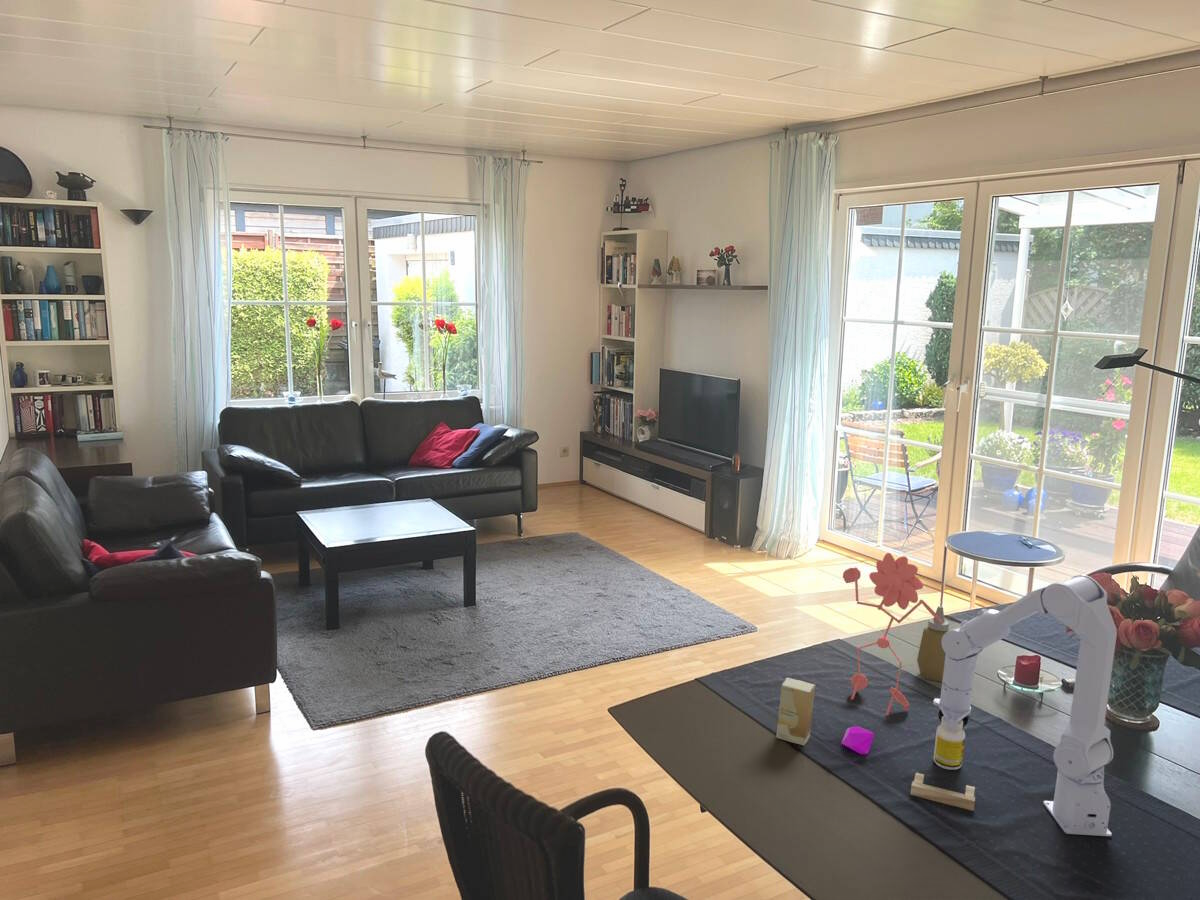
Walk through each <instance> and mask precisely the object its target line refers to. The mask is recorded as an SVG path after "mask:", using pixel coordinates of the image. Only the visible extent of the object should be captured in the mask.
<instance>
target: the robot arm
mask: <svg viewBox="0 0 1200 900" xmlns="http://www.w3.org/2000/svg"><path fill="white" fill-rule="evenodd" d="M1037 613H1040V614H1042V615H1047V614H1049V615H1051V616H1052V617H1053V618H1055V619H1056V620H1057V621H1059V622H1060V623H1062V624H1063V625H1065V626H1066V627H1068V628H1069V630H1070V629H1071V630H1072V631H1074V633H1075V634H1076V635H1077V636H1078V637H1079V638H1080V639H1079V648H1078V656H1077V662H1076V663H1077V664H1076V672H1075V679H1074V687H1073V693H1072V703H1071V710H1070V719H1069V722H1068V723H1067V725H1066V726H1065V728H1064V730H1063V732H1062V733H1061V737H1060V741H1059V743H1058V745H1057V746H1056V747H1055V748H1054V750H1053V753H1052V754H1053V755H1052V756H1053V762H1054V764H1055V766H1056V768H1057V776H1056V782H1055V789H1054V796H1053V800H1043V805H1044V806H1045V808H1046V809H1047V810H1048V812H1049V813H1050V814H1051V816H1052V817H1053V819H1054V820H1055V821H1056V823H1057V824H1058V825H1059V827H1060V828H1061V829H1062V831H1063V832H1064V833H1065V834H1066V835H1067V834H1068V835H1082V836H1096V837H1097V836H1099V837H1112V836H1113V835H1112V832H1111V831H1110V830H1109V828H1108V826H1109V820H1110V812H1111V805H1112V804H1111V803H1112V802H1111V800H1110V798H1109V796H1108V794H1107V793H1106V789H1105V787H1104V783H1105V781H1104V779H1105V766H1107V765H1108V764H1109V763H1111V761H1112V760H1113V758H1114V748H1113V746H1112V743H1111V730H1110V729H1109V728H1108V727H1107V726H1106V725H1105V722H1106V714H1107V708H1108V702H1109V695H1110V694H1109V693H1110V687H1111V679H1112V673H1113V672H1112V671H1113V664H1114V658H1115V650H1116V644H1117V642H1116V641H1117V636H1118V633H1117V630H1118V629H1117V626H1116V624H1115V622H1114V619H1113V615H1112V613H1111V611H1110V608H1109V605H1108V592H1107V591H1106V590H1105V589H1104V588H1103V587H1102V586H1101V584H1100V583H1099V582H1097V580H1096V579H1094V578H1093V577H1091V576H1089V575H1087V574H1078V575H1074V576H1072V577H1071V578H1068V579H1064V580H1062V581H1058V582H1054V583H1051V584H1048V585H1046V586H1044V587H1041V588H1037V589H1034V590H1032V591H1030V592H1029V593H1027V594H1026V595H1024V596H1022V597H1021V598H1019V599H1017V600H1016V601H1014V602H1013V603H1012V604H1010V605H1008V606H1007V607H1005V608H1003V609H1001V610H998V609H995V608H989V609H987V608H982V609H980V610H979V611H978V612H977V616H976V617H973V618H971V619H970V620H966V619H965V620H963V621H961V622H960V627H957V628H954V629H953V628H952V629H948V631H947V632H946V633H945V634H944V635H943V637H942V641H941V643H942V648H943V650H944V652H945V653H946V656H945V664H944V672H943V681H941V682H942V683H941V689H940V698H933V703H932V704H933V706H937V707H938V708H939V709H938V719H939V722H940V723H941V720H942V716H945V718H946V726H945V728H948V729H952V730H956V729H957V723H958V722H959V721H960V720H961V719H962V720H963V728H962V729H963V730H964V728H965V726H967V724H968V722H969V717H970V713H971V711H972V706H971V705H972V698H973V697H972V696H973V689H974V688H973V687H974V679H975V674H976V673H975V672H976V668H977V667H976V666H977V661H978V656H979V655H980V653H981V652H983V651H984V649H985V648H988V647H989V646H991V645H993V644H994V643H997V642H999V641H1001V640H1003V639H1004V638H1006V637H1008V636H1009V634H1010V632H1011V627H1012V625H1016V624H1017V623H1019V622H1022V621H1023V620H1025V619H1027V618H1029V617H1032V616H1033V615H1035V614H1037Z"/></svg>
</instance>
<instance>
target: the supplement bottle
mask: <svg viewBox="0 0 1200 900" xmlns="http://www.w3.org/2000/svg"><path fill="white" fill-rule="evenodd" d="M940 723H941V724H939V725H937V727H936V732H935V742H934V749H933V762H934V763H935V764H936V765H937V766H938V767H939V768H942V769H945V770H950V771H953V770H958V769H960V768H961V767H962V765H963V759H964V750H965V744H966V732H965V730H964V728H963V720H962V719H961V720H960V721H959V722H958V723H957V729H956V730H952V729H948V728H945V726H946V718H945V716H942V720H941V722H940ZM962 728H963V729H962Z"/></svg>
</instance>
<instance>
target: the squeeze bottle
mask: <svg viewBox="0 0 1200 900" xmlns="http://www.w3.org/2000/svg"><path fill="white" fill-rule="evenodd" d="M935 613H936V614H937V615H938V617H939V618H940V619H941V621H942V622H943V624H941V623H940V622H939V621H938V620H937V619H936V618H935V617H934V616H933V617H931V618H929V619H928V622H927V626H926V627H924V628H923V632H922V635H921V641H920V643H919V644H920V645H919V649H918V654H917V657H916V661H917V666H918V669H919V673H920V676H922V678H924V679H925V680H929V681H933V682H942V681H943V672H944V664H945V656H946V653H945V652H944V650H943V648H942V643H941V641H942V637H943V635H944V634H945V633H946V632H947V631H948V630H950V629H949V628H950V627H949V626H950V622H949V621H948V620H946V619H945V614H944V607H943V606H938V605H937V608H936V611H935Z"/></svg>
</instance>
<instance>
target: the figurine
mask: <svg viewBox="0 0 1200 900" xmlns="http://www.w3.org/2000/svg"><path fill="white" fill-rule="evenodd" d="M875 565H876V570H877V571H873V572H870V573H869V575H868V576H869V580H870V581H871V582H872V583H873V584H874V585H875V587H874V590H873V591H874V594H875V595H877V596H879V597H883V598H882V600H881V602H880V603H879V604H874V603H873V604H872V603H870V602H869V603H867V602H862V601H859V585H858V580H859V579H861V576H862V575H861V571H860V570H859V569H858V567H856V566H855V567H849V568H848V569H845V570H844V571H843V574H842V579H843V580H844V582H845V583H846V584H850V583H854V584H855V587H854V589H855V602H856V605H862V606H867V607H872V608H873V607H874V608H877V610H878V611H882V612H883V613H885V614H886V615H887V616H888V617H890V620H889V623H888V625H887V627H886V630H885V633H884V635H883V636H879V637H878V638H877V640H876V641H875V642H872V643H868V644H866V645H862V646H859V647H857V648H856V655H857V666H858V668H857V669H858V673H854V675H853V676H852V677H851V679H850V683H851V686H852V687H853V692H852V694H851V696H850V700H851V699H853V700H854V699H855V696H856V693H857V692H860V691H862V690H864V689H866V687H867V686H868V685H869V684H868V683H869V681H868V678H867V676H865V675H864V674H862V673H861V664H860V663H861V661H860V652H859V650H860V649H863V648H866V647H869V646H874V645H877V646H878V647H879V648H880V649H887V648H889V649H890V651H891V652H892V653H893V655H894V656H895V658H896V659H897V660H898V662H899V667H898V673H897V678H896V685H895V687H894V688H893V686H891V687H889V688H890V689H889V690H890V693H891V695H892V696H891V697H890V698H891V699H890V701H889V704H888V707H887V709H886V712H885V716H887V715H888V716H889V714H890V711H891V709H892V706H893V703H894V700H896V701H897V703H898V704H899V705H901V706H902V708H903V709H905V710H906V711H909V710H910V703H909V701H908V699H906V697H905V695H904V694H903V693H902V692H901V691H900V690H898V688H899V687H898V686H899V681H900V675H901V670H902V664H903V663H902V660H901V659H900V658H899V657H898V655H897V653H896V652H895V651H894V650H893V648H892V646H891V645H890V639H889V638H888V637H887V635H888V632H889V630H890V628H891V626H892V624H893V622H894V621H895V622H896V623H898V624H900V623H902V621H904V620H905V619H906V618H907V617H908V616H909V615H910V614H912V613H913V612H914V611H915V610H916V609H917V608H918V607H920V606H921V605H922V606H924V608H925V609H926V610H927V611H928V612H929V613H930V614H931V615H932V617H933V618H934V617H935V618H936V619H937V620H938V621H939V622H940V623H941V624H943V622H942V621H941V619H940V618H939V617H938V615H937V614H936V611H934V609H933V608H931V606H929V605H928V604H927V602H925V600H924V599H923V598H922V599H920V600H919V596H918V593H917V590H921V589H923V588H924V584H923V582H922V581H921V579H920V578H919V577H917V576H916V575H917V573H918V572H919V571H918V570H919V569H918V566H916V565H915V564H913V563H909V558H908V557H907V556H905V555H903V556H900V557H897V558H896V559H895V558H894V556H893V554H892V553H890V552H887V553H885V555H884V556H883V559H882V560H881V559H878V560H877V561H876V563H875ZM918 601H919V602H918ZM896 603H897V606H898V607H899V608H900V609H901V610H904V611H905V610H906V609H907V608H908V606H909V604H910V603H913V604H915V605H914V606H913V607H912V608H911V609H910V610H908V612H906V613H905V614H904V615H903V616H902V617H901V618H900V619H898V618H896V617H895V616H894V615H892V614H891V613H890V612H888V610H886V609H884V608H883V606H884V607H887V608H889V607H892V606H894V605H896ZM914 725H915V724H914V723H912V724H909V725H908V727H910V726H914Z"/></svg>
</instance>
